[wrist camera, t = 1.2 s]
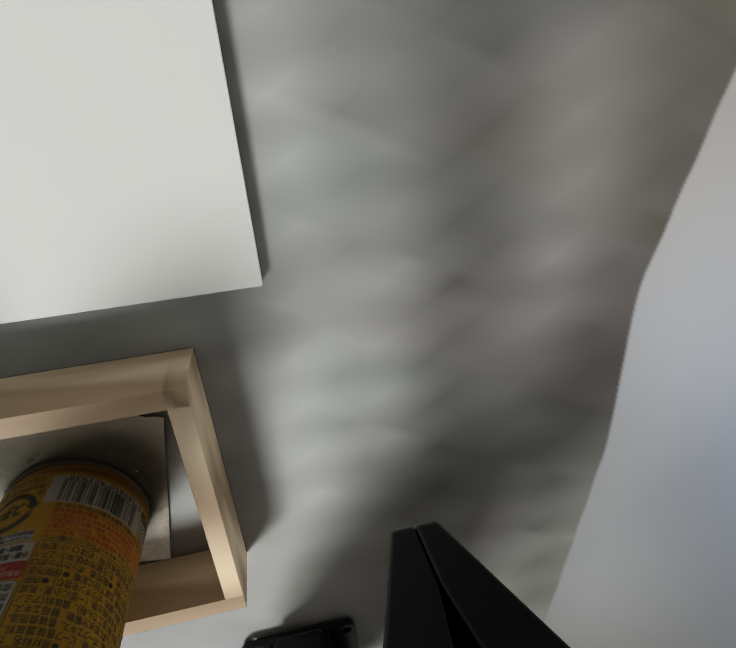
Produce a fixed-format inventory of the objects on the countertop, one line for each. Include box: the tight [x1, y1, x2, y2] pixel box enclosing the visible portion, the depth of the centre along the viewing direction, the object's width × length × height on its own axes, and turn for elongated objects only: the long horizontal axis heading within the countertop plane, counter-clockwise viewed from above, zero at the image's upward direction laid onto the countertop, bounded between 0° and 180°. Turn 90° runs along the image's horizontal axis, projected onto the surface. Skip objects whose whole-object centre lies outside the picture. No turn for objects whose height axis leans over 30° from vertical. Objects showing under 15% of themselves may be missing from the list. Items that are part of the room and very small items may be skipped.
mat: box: [0, 0, 263, 324], centre depth 17 cm, size 11×11×1 cm
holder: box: [0, 348, 247, 636], centre depth 20 cm, size 12×12×6 cm
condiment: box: [0, 416, 171, 648], centre depth 18 cm, size 7×8×12 cm
